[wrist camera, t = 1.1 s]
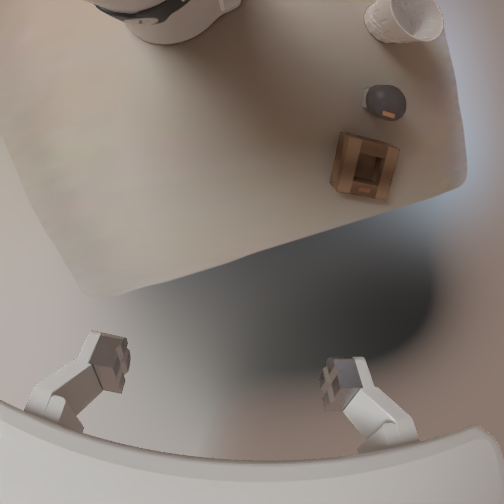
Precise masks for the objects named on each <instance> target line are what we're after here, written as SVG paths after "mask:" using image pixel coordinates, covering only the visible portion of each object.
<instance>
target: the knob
mask: <svg viewBox="0 0 504 504" xmlns="http://www.w3.org/2000/svg"><path fill="white" fill-rule="evenodd" d="M362 107H364V108H368V110H369V111H370V113H371V114H373V115H374V116H376V117H378V118H382V119H385V120H389V121H395V120H398V119H399V118H401V117H402V116H403V114H404V113H405V110H406V99H405V97H404V95H403V93H402V92H401V91H400V90H399V89H398V88H396V87H394V86H390V85H375V86H373V87H371V88H365V93H364V98H363V104H362Z"/></svg>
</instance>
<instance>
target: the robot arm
mask: <svg viewBox="0 0 504 504" xmlns="http://www.w3.org/2000/svg"><path fill="white" fill-rule="evenodd" d="M85 1H87V2H90V3H93V4H94V5H95V6H96V7H97V8H98V9H100V10H101V11H103V12H104V13H106V14H108V15H110V16H112V17H114V18H116V19H119V20H121V21H124V22H125V23H126V25H127V26H128V28H129V29H130V31H131V32H132V33H133V34H134V35H136V36H137V37H138V38H140V39H142V40H144V41H146V42H150V43H154V44H174V43H179V42H182V41H186V40H188V39H191V38H193V37H195V36H197V35H198V34H200V33H201V32H203V31H204V30H206V29H207V28H208V27H209V26H210V25H211V24H212V23H213V22H214V21H215V20H216V19H217V18H218V17H219V16H221V15H222V14H225V13H227V12H230V11H232V10H234V9H236V8H237V7H238V6H239V5H240V4H241V0H85ZM127 344H128V342H127V338H124V337H120V336H115V335H111V334H107V333H102V332H98V331H93V330H92V331H91V332H90V333H89V334H88V336H87V339H86V341H85V343H84V345H83V347H82V350H81V352H80V354H79V356H78V358H77V360H72V361H71V362H69V363H68V364H66V365H65V366H63V367H62V368H60V369H59V370H58V371H56V372H55V373H53V374H52V375H50V376H49V377H47V378H46V379H44V380H43V381H42V382H40V383H39V384H37V385H36V386H34V388H33V391H32V393H31V395H30V398H29V400H28V402H27V405H26V407H25V409H24V411H23V410H21V409H18V408H16V407H14V406H12V405H10V404H8V403H6V402H4V401H2V400H0V504H504V459H503V456H502V452H501V449H500V447H499V444H498V442H497V440H496V439H495V438H494V437H493V436H492V435H491V434H489V433H488V432H487V431H486V430H485V429H483V428H482V427H480V426H479V425H471V426H468V427H466V428H463V429H460V430H457V431H454V432H451V433H448V434H445V435H441V436H438V437H434V438H431V439H428V440H424V441H419V438H418V435H417V432H416V429H415V426H414V423H413V420H412V418H411V417H410V416H409V415H408V414H407V413H405V412H404V411H403V410H402V409H401V408H400V407H399V406H398V405H397V404H396V403H394V402H393V401H392V400H391V399H390V398H389V397H388V396H387V395H386V394H384V393H383V392H382V391H381V390H380V389H379V388H378V387H374V384H373V381H372V378H371V375H370V372H369V370H368V367H367V364H366V361H365V359H364V358H363V357H330V358H329V359H328V360H327V367H325V368H323V370H322V372H321V374H320V379H319V381H320V389H321V390H322V391H323V392H324V393H325V394H324V396H323V398H322V400H323V404H324V409H325V411H341V410H343V412H344V414H345V415H346V416H347V417H348V419H349V420H350V421H351V422H352V423H353V425H354V426H355V427H356V428H357V429H358V431H359V432H360V433H361V434H362V435H363V437H364V438H365V439H366V441H365V442H364V443H363V444H361V445H360V446H359V447H358V454H355V455H348V456H339V457H330V458H319V459H306V460H283V461H282V460H281V461H252V460H229V459H214V458H203V457H194V456H186V455H179V454H172V453H166V452H159V451H154V450H149V449H143V448H139V447H134V446H129V445H125V444H120V443H116V442H112V441H109V440H105V439H101V438H98V437H94V436H91V435H87V434H84V433H83V429H84V427H83V425H82V424H81V422H80V421H79V420H78V418H77V417H76V415H77V414H79V413H80V412H81V411H82V410H83V409H84V408H85V407H86V406H87V405H88V404H89V403H90V402H91V401H92V400H93V399H94V398H96V397H97V396H98V395H99V394H100V393H101V392H102V391H103V390H106V391H111V392H116V393H122V390H123V387H124V383H125V378H124V374H126V373H127V372H128V370H129V366H130V351H129V350H128V349H127V348H126V347H127Z"/></svg>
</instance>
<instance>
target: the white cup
mask: <svg viewBox="0 0 504 504" xmlns="http://www.w3.org/2000/svg"><path fill="white" fill-rule="evenodd" d="M364 19H365V25H366V27H367V29H368V31H369V33H371V34H372V35H373V36H374V37H375V38H376V39H377V40H380V41H382V42H384V43H412V42H428V41H433V40H435V39H437V38H438V37H439V36H440V35H441V33H442V31H443V26H444V22H443V16H442V13H441V10H440V8H439V6H438V5H437V3H436V2H435V0H377V1H376V2H375V3H374V4H373V5H371V6H370V7H368V8H367V10H366V12H365V14H364Z"/></svg>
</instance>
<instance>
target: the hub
mask: <svg viewBox="0 0 504 504" xmlns="http://www.w3.org/2000/svg"><path fill="white" fill-rule="evenodd" d="M399 151H400V149H398V148H396V147H394V146H392V145H390V144H387V143H384V142H380V141H376V140H373V139H369V138H365V137H361V136H357V135H352V134H348V133H344V132H341V133H340V138H339V142H338V147H337V152H336V157H335V161H334V166H333V170H332V175H331V179H330V183H331V185H332V186H333V187H334V188H335V190H336V191H337V192H343V193H349V194H354V195H360V196H365V197H371V198H376V199H381V200H386V198H387V195H388V192H389V188H390V185H391V181H392V177H393V174H394V170H395V166H396V162H397V159H398V155H399Z"/></svg>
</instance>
